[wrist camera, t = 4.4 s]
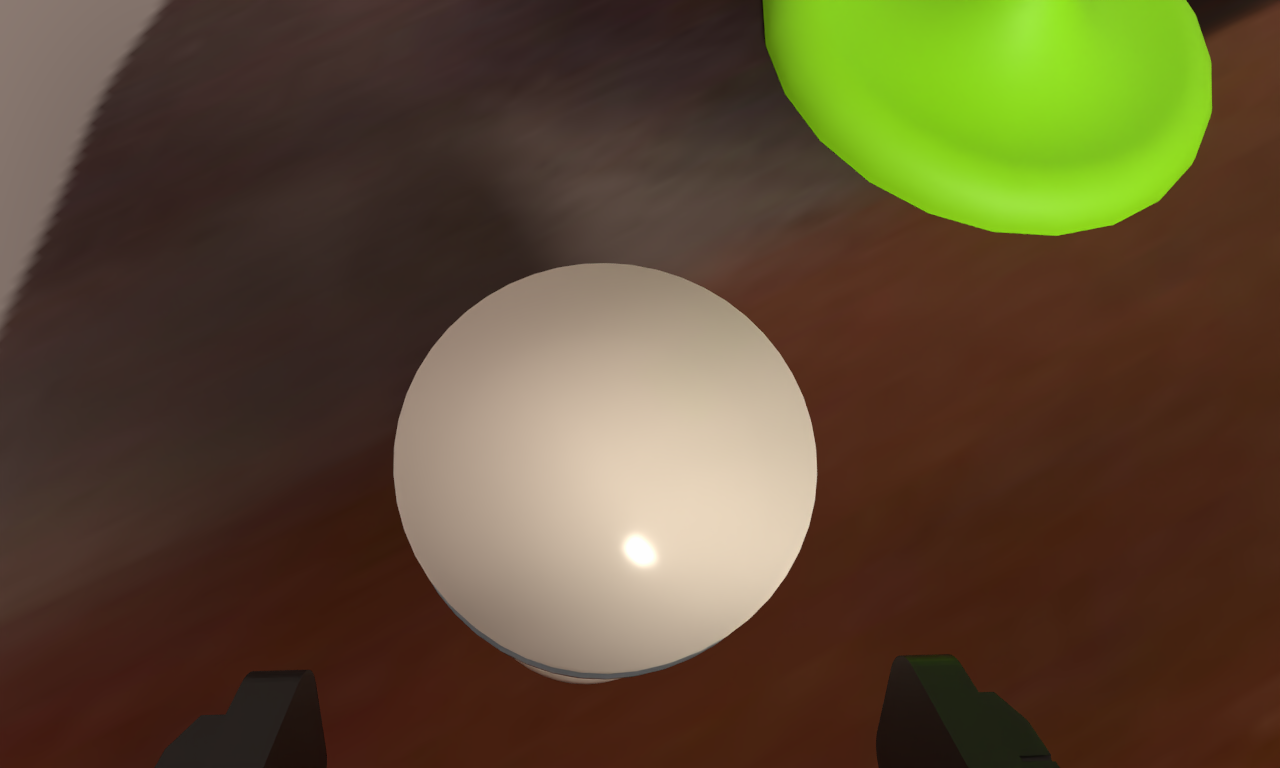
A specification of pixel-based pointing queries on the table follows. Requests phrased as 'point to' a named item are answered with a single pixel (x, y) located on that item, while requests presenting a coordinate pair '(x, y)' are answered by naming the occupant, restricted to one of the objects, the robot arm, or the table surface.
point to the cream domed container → (604, 470)
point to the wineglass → (1002, 102)
